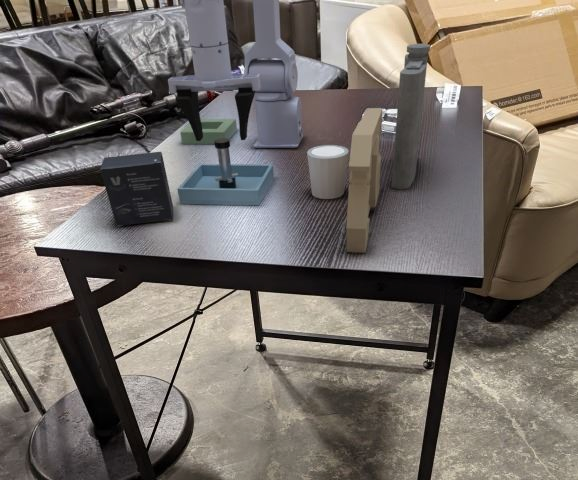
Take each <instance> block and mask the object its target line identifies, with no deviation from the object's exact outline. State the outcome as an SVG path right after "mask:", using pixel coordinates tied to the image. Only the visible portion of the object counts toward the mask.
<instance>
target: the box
mask: <svg viewBox="0 0 578 480" xmlns="http://www.w3.org/2000/svg"><path fill="white" fill-rule="evenodd" d="M166 171H167V170H166V166H165V161H164V157H163V152H162V151H154V152H153V151H152V152H144V153H136V154H135V153H134V154H125V155H117V156H108V157H107V156H106V157H104V158H103V160H102V163H101V165H100V168H99V172H100V175H101V177H102V182H103V185H104V188H105V191H106V194H107V197H108V201H109V205H110V209H111V212H112V215H113V219H114V223H115V225H116V227H117V228H120V227H124V226H130V225H137V224H145V223H155V222H162V221H168V222H169V221H173V220H174V205H173V200H172V195H171V189H170V185H169V180H168V174H167V172H166Z"/></svg>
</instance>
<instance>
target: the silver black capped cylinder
mask: <svg viewBox="0 0 578 480" xmlns="http://www.w3.org/2000/svg"><path fill="white" fill-rule="evenodd" d="M213 145H214V148H215V149H216V152H217V159H218V164H219V167H220V174H221V176H219V177H215V181H219V187H220V188H226V189H235V188H236V180H235V178H236V177H239V176H238V174H237V173H234V174H232V171H231V164H232V163H231V155H230V147H231V142H230V139H227V138H220V139H216V140H215V141H214V144H213Z"/></svg>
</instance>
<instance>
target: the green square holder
mask: <svg viewBox="0 0 578 480" xmlns="http://www.w3.org/2000/svg"><path fill="white" fill-rule="evenodd" d="M200 120H201V125H202V130H203V138H202V139H201V141H196V138H195V135H194V132H193V130H192V128H191V125H190V123H189V124H188V125H187V126H185V127H184V128H183V129H181V131H180V138H181V144H182V145H215V144H214V141H215V140H216V139H220V138H227V139H229V140H230V139H231V138H233V136H234V135H235V134H236V133H237V131H238V127H237V119H236V118H200Z"/></svg>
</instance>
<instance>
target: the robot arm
mask: <svg viewBox="0 0 578 480" xmlns="http://www.w3.org/2000/svg"><path fill="white" fill-rule="evenodd" d="M179 4H180V6H181V8H182V9H184V12H185V19H186V25H187V32H188V38H189V45H190V51H191V58H192V64H193V70H194V74H193V75H183V76H171V77H170V78H168V79H167V83H168V89H169V93H170V94H176V96H175V102H176V104H177V105H178V107H179V108H180V109H181V111H182V112H183V114H184V116H185V117H186V119H187V121H188V123H189V124H190V125H191V128H192V130H193V132H194V135H195V138H196V141H201V139H202V138H203V130H202V125H201V120H200V119H201V114H200V113H201V112H200V101H199V92H224V91H237V92H236V93H235V94H234V100H235V106H236V110H237V116H238V124H239V125H238V126H239V138H240V141H246V139H247V137H248V126H249V125H248V124H249V118H250V112H251V109H252V104H253V101H254V103H255V105H254V106H255V114H256V115H255V116H256V126H257V127H256V128H257V139H256V141H255V143H254V144H253V148H254V149H296V148H298V147H299V145H300V143H301V142H302V140H303V138H304V133H303V111H302V110H303V109H302V100H301V97H299V96H293V95H294V93H295V92H296V91H297V87H298V81H299V78H298V77H299V75H298V74H299V73H298V67H297V62H296V54H295V51H294V49H293V48H291V46H290V45H289V44H287V43H286V42H285V41H284V40H282V38H281V20H280V19H281V17H280V0H252V8H253V22H254V23H253V25H254V38H255V39H254V40H255V42H254V43H252V45H251V46H250V47H249V48H248V49H247V50H246V52H245V53H244V70H243V73H235V72H234V73H233V72H232V66H231V65H232V64H231V57H230V48H229V40H228V30H227V22H226V12H225V3H224V0H179Z"/></svg>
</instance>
